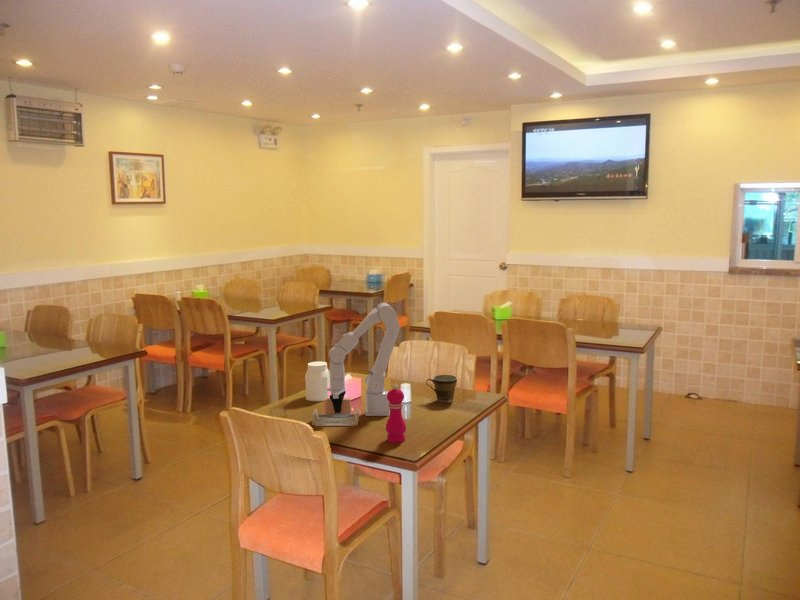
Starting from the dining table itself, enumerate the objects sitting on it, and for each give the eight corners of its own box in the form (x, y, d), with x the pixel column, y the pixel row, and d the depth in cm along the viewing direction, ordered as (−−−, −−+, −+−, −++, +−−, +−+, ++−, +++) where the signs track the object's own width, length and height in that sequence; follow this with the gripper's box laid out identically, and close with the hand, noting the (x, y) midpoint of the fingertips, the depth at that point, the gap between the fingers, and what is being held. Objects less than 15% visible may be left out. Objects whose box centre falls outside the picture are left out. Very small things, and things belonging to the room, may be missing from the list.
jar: (327, 401, 276) (326, 367, 274) (304, 401, 276) (303, 367, 274) (331, 393, 287) (330, 360, 285) (310, 393, 288) (309, 360, 286)
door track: (359, 418, 253) (358, 407, 252) (357, 425, 245) (357, 414, 244) (315, 419, 253) (315, 408, 252) (312, 426, 245) (311, 414, 244)
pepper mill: (406, 436, 233) (405, 382, 230) (406, 443, 226) (405, 387, 223) (386, 436, 233) (385, 382, 230) (385, 443, 226) (384, 387, 223)
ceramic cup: (457, 397, 279) (457, 374, 277) (456, 404, 269) (456, 381, 268) (427, 396, 280) (426, 374, 279) (425, 404, 270) (425, 380, 269)
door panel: (351, 415, 258) (350, 397, 257) (350, 416, 256) (350, 399, 255) (326, 415, 258) (325, 398, 257) (325, 417, 256) (324, 399, 255)
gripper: (329, 372, 262) (330, 405, 264) (324, 382, 247) (325, 417, 249) (346, 372, 262) (347, 405, 264) (343, 382, 247) (344, 416, 249)
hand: (338, 411), depth 256 cm, fingers open, 3 cm apart
